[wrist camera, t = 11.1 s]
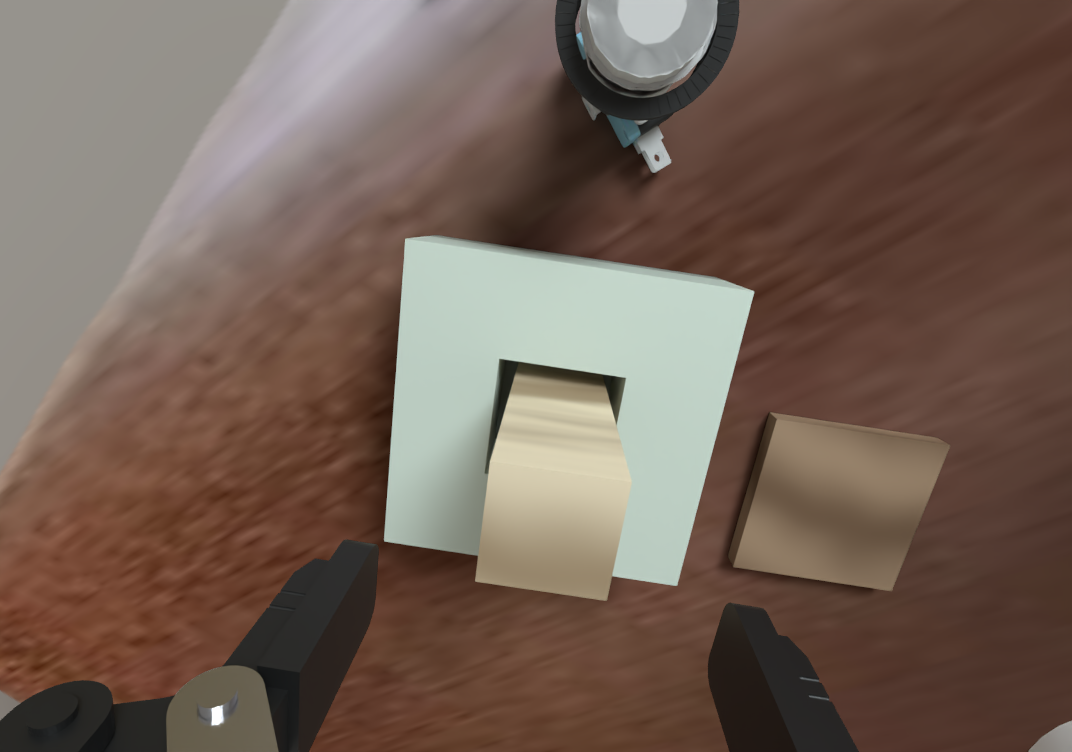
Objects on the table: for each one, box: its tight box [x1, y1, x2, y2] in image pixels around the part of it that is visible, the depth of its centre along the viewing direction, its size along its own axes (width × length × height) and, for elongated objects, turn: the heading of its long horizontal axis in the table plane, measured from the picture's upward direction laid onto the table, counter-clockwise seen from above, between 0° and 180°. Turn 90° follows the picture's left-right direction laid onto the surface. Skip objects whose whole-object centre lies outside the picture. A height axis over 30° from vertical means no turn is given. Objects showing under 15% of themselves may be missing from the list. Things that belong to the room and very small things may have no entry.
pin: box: [475, 362, 632, 601], centre depth 21 cm, size 4×4×12 cm
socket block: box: [384, 235, 754, 586], centre depth 26 cm, size 14×14×6 cm
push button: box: [555, 0, 739, 173], centre depth 19 cm, size 7×5×10 cm
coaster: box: [728, 412, 950, 591], centre depth 29 cm, size 9×9×1 cm
